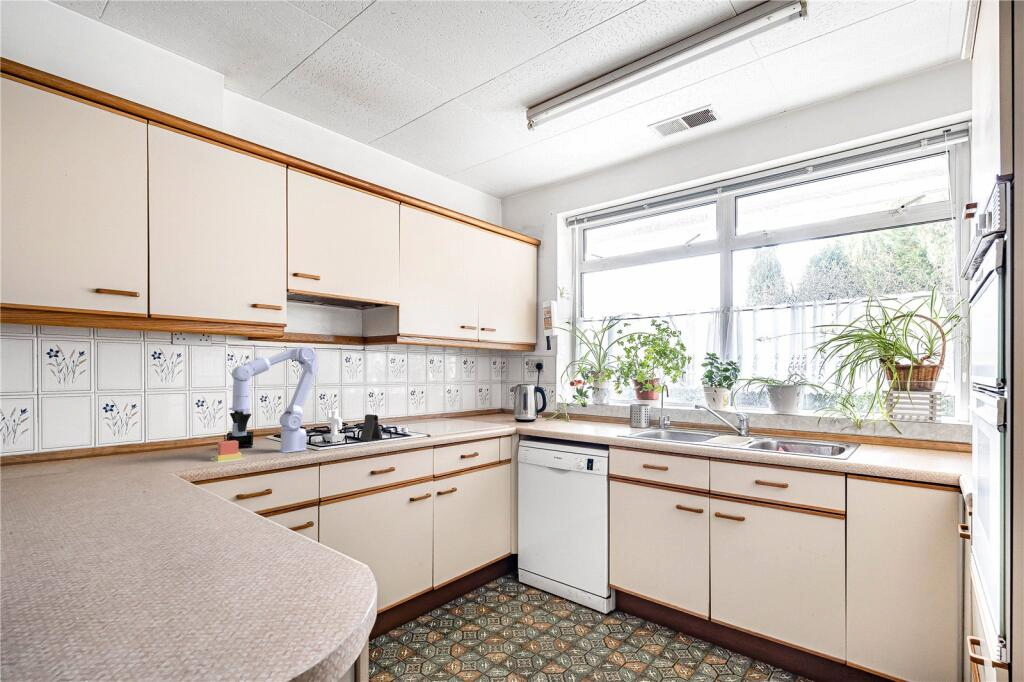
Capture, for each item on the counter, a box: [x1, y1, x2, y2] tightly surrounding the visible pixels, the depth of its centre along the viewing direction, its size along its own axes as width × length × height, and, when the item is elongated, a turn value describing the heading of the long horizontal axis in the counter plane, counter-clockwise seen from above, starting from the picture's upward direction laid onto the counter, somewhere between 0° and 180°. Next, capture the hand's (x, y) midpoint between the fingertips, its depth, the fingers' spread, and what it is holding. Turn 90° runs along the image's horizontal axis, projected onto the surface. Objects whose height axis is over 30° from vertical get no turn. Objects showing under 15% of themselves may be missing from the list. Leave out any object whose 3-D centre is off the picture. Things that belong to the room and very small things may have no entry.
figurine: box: [322, 409, 346, 442], centre depth 233 cm, size 7×9×15 cm
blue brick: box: [231, 423, 248, 436], centre depth 198 cm, size 4×4×4 cm
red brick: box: [217, 440, 239, 455], centre depth 193 cm, size 6×4×4 cm, turn 135°
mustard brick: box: [213, 451, 243, 461], centre depth 193 cm, size 8×5×2 cm, turn 135°
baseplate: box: [210, 457, 246, 464], centre depth 193 cm, size 10×10×1 cm
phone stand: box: [359, 413, 383, 442], centre depth 241 cm, size 9×6×12 cm, turn 148°
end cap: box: [226, 431, 254, 450], centre depth 217 cm, size 10×7×7 cm
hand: (239, 431), depth 198 cm, fingers closed on blue brick, 4 cm apart
